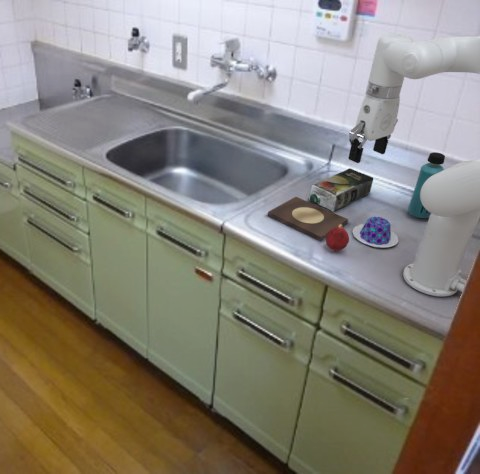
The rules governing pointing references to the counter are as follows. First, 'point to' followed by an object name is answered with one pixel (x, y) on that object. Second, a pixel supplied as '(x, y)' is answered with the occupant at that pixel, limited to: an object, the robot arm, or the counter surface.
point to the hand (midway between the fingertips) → (366, 156)
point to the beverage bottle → (425, 173)
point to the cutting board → (307, 218)
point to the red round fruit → (337, 238)
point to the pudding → (376, 233)
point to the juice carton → (341, 189)
